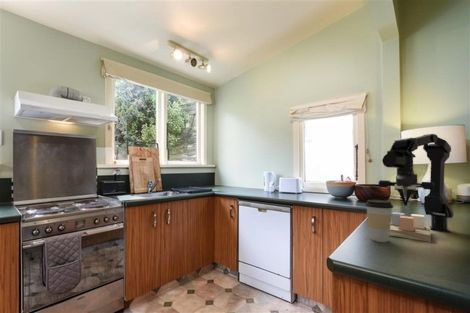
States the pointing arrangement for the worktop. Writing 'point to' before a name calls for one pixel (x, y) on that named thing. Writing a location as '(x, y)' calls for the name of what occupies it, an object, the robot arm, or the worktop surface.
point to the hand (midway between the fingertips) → (405, 205)
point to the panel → (411, 233)
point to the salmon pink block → (406, 223)
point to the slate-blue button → (396, 218)
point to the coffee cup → (379, 219)
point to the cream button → (418, 221)
